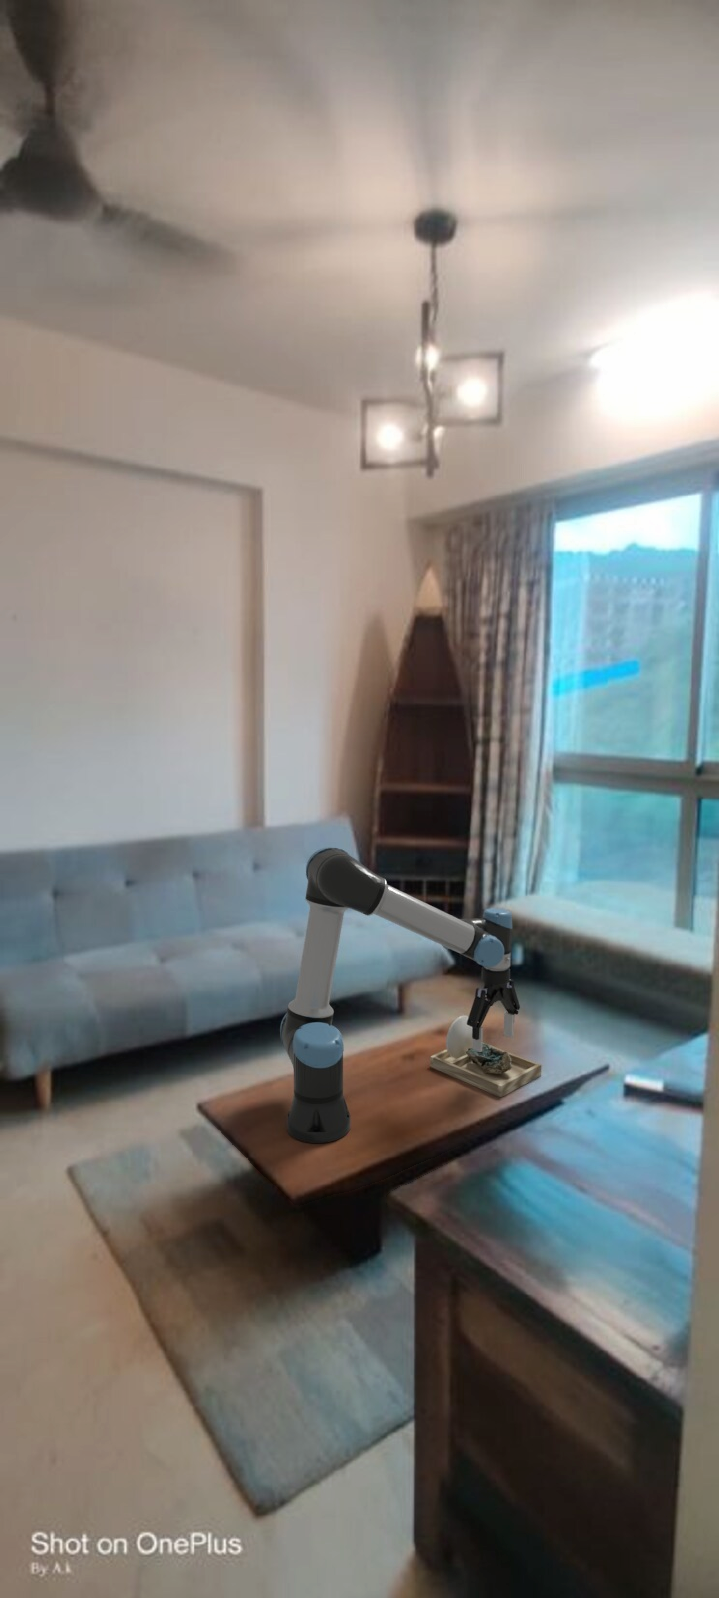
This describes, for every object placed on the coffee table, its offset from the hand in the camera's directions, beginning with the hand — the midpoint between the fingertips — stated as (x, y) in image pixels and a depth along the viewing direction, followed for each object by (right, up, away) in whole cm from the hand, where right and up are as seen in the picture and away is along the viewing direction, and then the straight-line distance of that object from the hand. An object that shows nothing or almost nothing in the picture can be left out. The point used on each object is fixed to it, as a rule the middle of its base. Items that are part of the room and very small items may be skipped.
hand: (493, 1043), depth 213 cm
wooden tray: (-2, -9, +3) cm, 9 cm away
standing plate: (-7, -8, +9) cm, 14 cm away
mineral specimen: (0, -8, +2) cm, 8 cm away
